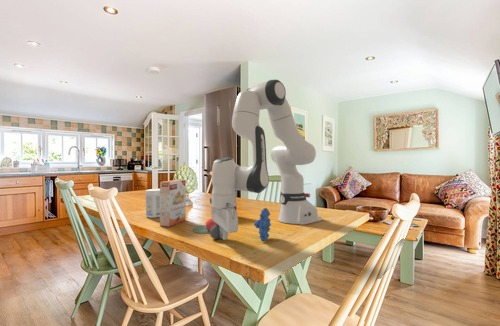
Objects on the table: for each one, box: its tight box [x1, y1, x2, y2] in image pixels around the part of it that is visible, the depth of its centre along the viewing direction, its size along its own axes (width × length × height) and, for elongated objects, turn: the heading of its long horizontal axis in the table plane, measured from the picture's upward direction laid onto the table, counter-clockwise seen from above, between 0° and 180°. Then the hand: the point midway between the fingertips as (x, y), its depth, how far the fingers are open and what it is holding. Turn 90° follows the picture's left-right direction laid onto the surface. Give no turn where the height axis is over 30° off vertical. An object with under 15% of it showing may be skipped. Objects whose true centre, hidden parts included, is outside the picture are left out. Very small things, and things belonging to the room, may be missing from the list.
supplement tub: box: [145, 188, 160, 219], centre depth 137 cm, size 10×10×15 cm
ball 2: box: [209, 225, 222, 240], centre depth 97 cm, size 6×6×6 cm
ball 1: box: [205, 218, 218, 231], centre depth 108 cm, size 6×6×6 cm
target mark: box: [192, 224, 210, 235], centre depth 111 cm, size 14×14×1 cm
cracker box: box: [159, 179, 187, 228], centre depth 122 cm, size 14×6×21 cm, turn 164°
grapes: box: [253, 207, 272, 242], centre depth 96 cm, size 12×7×12 cm, turn 168°
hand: (224, 238), depth 93 cm, fingers closed
